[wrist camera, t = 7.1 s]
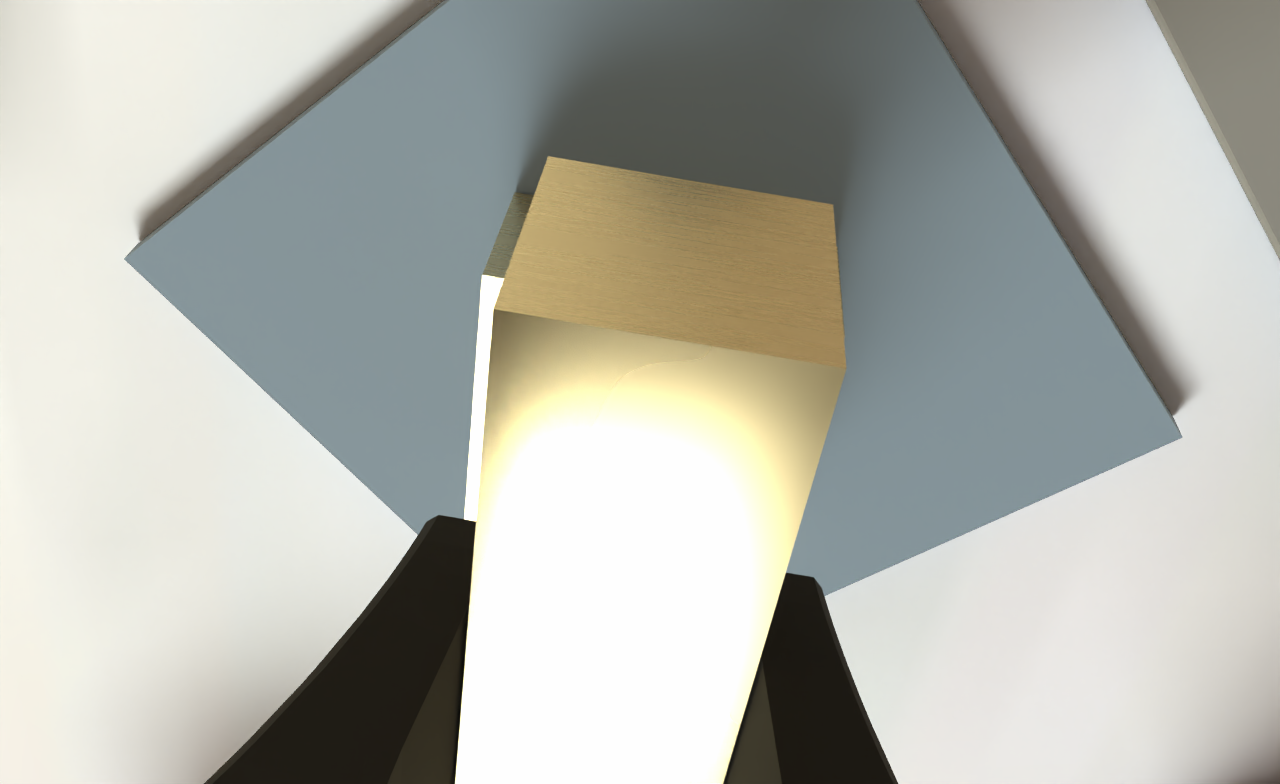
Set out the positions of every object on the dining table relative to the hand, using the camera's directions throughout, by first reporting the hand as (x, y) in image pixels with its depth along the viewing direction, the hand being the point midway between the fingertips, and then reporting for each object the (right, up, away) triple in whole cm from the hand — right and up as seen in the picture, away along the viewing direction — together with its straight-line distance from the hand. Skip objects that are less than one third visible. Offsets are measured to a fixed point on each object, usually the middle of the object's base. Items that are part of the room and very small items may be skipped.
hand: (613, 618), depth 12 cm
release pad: (0, +3, +4) cm, 5 cm away
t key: (0, +3, +4) cm, 5 cm away
